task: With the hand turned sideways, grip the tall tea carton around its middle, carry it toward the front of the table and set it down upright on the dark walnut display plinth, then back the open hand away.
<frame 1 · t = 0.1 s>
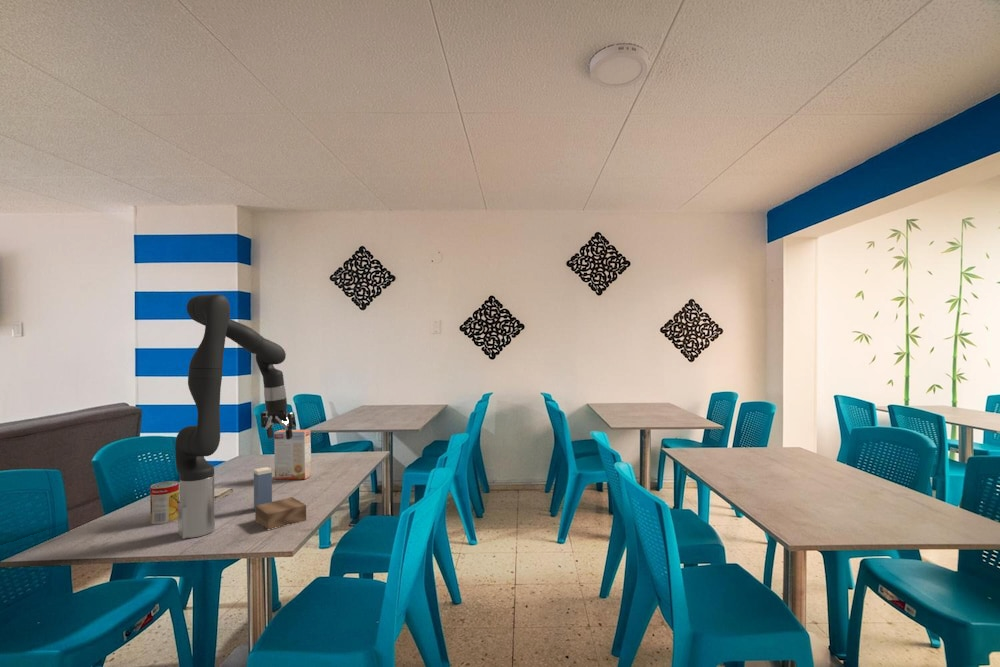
hand: (280, 438, 185), 22 cm above the table, tool pointing down, fingers open, 8 cm apart
display plinth: (280, 520, 159), on the table
tea carton: (263, 508, 171), on the table
canned food: (164, 520, 162), on the table
cracker box: (293, 478, 210), on the table
washcloth: (204, 501, 182), on the table
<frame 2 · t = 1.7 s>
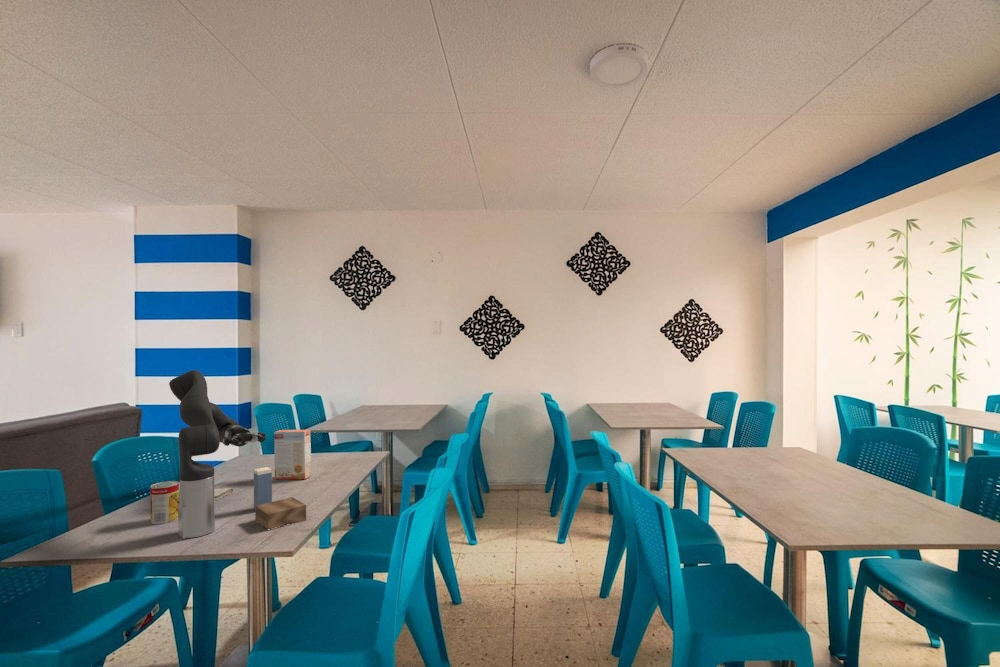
hand: (250, 441, 182), 22 cm above the table, tool horizontal, fingers open, 8 cm apart
nothing on the table moved.
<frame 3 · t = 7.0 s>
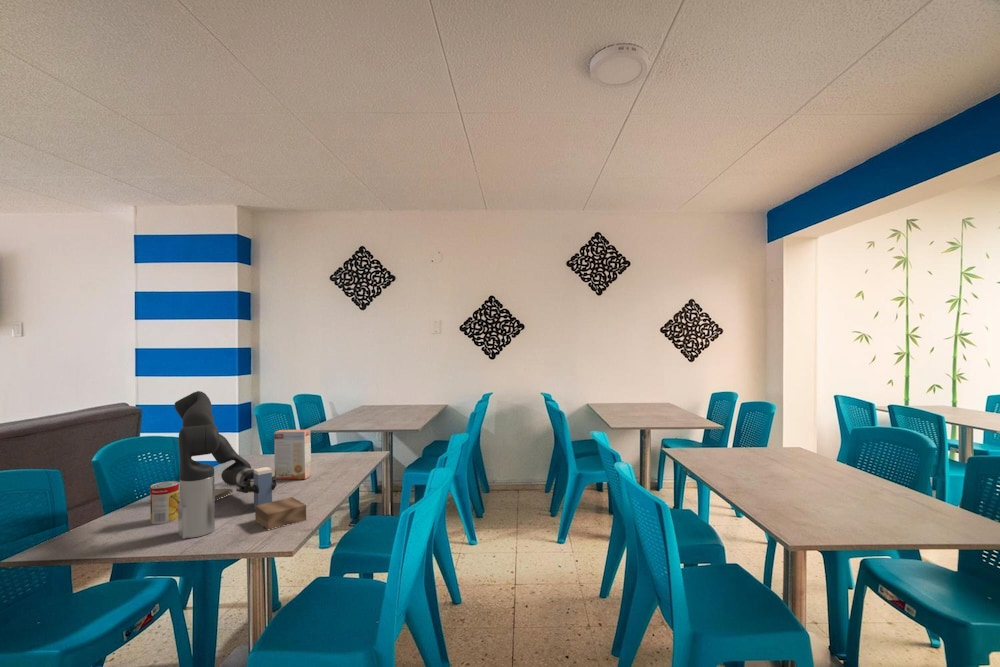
hand: (265, 488, 169), 8 cm above the table, tool horizontal, fingers closed on tea carton, 4 cm apart
tea carton: (263, 508, 171), on the table, touching gripper
when the fingers open (14 cm above the table, at t = 13.3 s): tea carton drops 1 cm, resting on display plinth.
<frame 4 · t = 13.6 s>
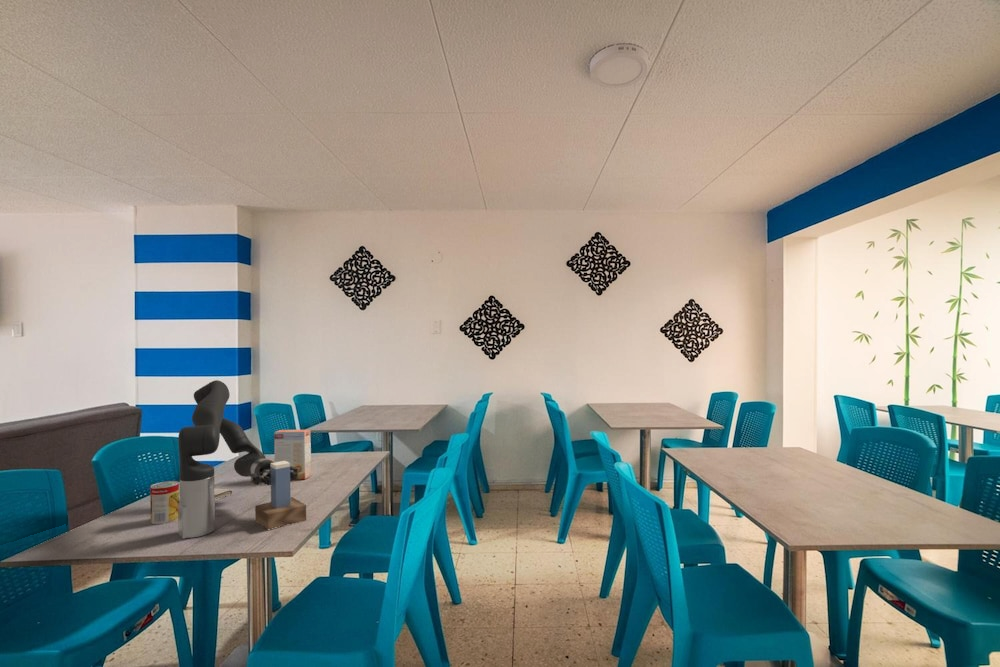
hand: (282, 479, 158), 14 cm above the table, tool horizontal, fingers open, 7 cm apart
tea carton: (280, 505, 159), point 5 cm above the table, touching display plinth
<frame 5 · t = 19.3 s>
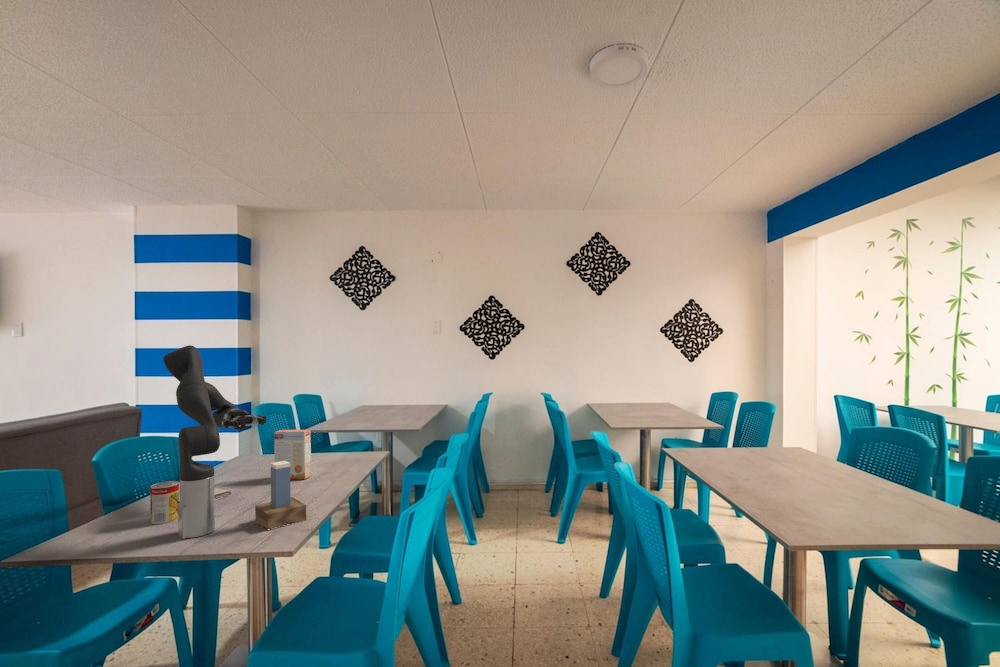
hand: (250, 423, 175), 30 cm above the table, tool horizontal, fingers open, 8 cm apart
at the end: tea carton 0.1 cm off-centre on the display plinth, point 5.0 cm above the display plinth's base; tea carton tilted 0°; the gripper is holding nothing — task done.
